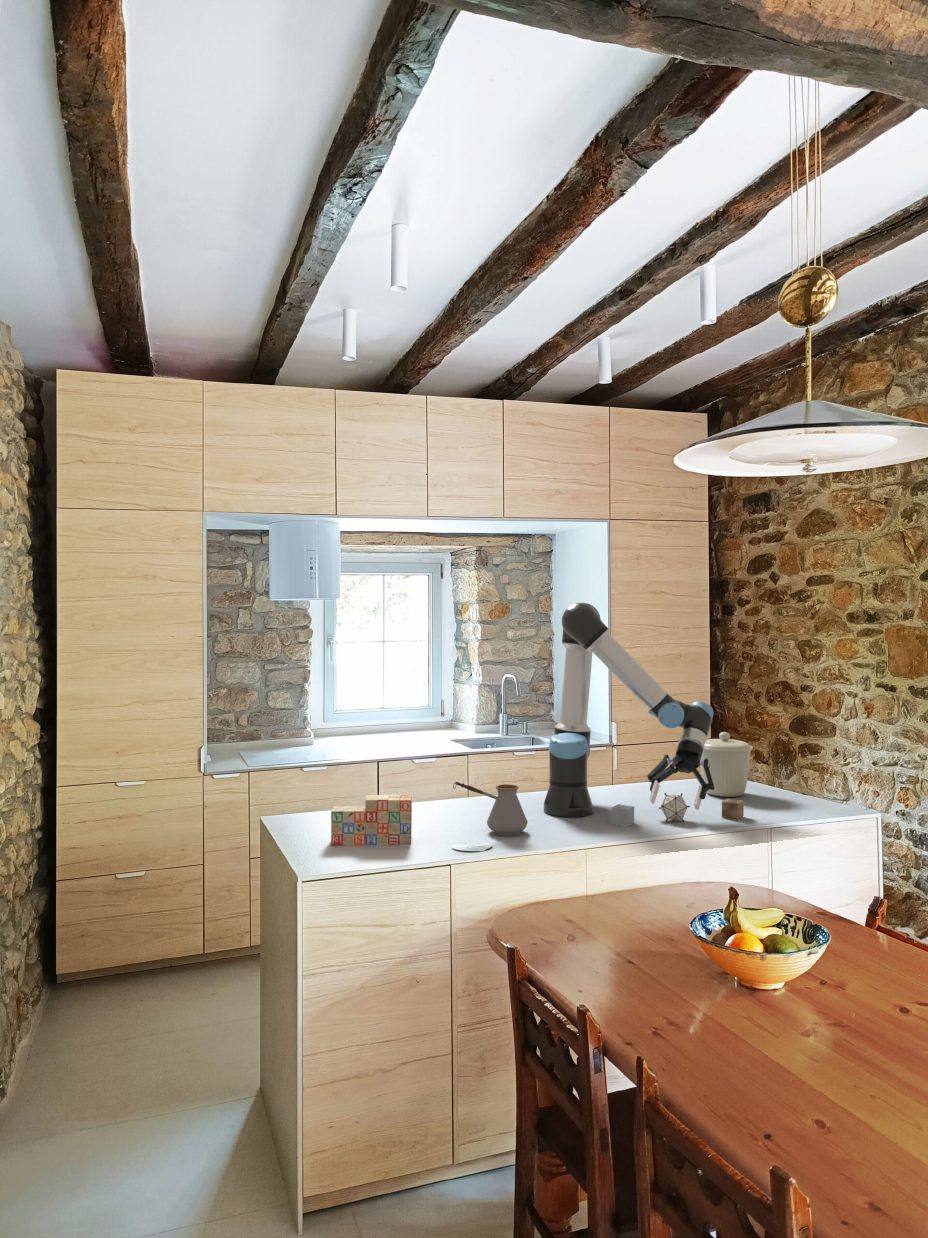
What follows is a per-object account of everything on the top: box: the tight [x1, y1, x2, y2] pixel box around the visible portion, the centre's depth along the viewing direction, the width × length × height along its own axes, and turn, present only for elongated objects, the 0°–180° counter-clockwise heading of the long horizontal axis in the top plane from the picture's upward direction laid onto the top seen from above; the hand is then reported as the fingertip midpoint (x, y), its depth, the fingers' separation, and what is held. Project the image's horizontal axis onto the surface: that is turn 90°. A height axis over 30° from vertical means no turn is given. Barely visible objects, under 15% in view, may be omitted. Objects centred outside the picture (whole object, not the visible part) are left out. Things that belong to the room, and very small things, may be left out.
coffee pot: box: [452, 781, 529, 837], centre depth 235 cm, size 21×12×15 cm, turn 104°
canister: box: [700, 731, 754, 798], centre depth 285 cm, size 18×18×21 cm
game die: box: [658, 792, 691, 823], centre depth 249 cm, size 9×8×10 cm
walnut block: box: [721, 798, 745, 821], centre depth 253 cm, size 5×5×5 cm
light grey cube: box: [610, 803, 635, 828], centre depth 246 cm, size 5×5×5 cm
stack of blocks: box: [330, 794, 413, 846], centre depth 226 cm, size 21×6×12 cm, turn 92°
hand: (673, 804), depth 248 cm, fingers open, 13 cm apart
